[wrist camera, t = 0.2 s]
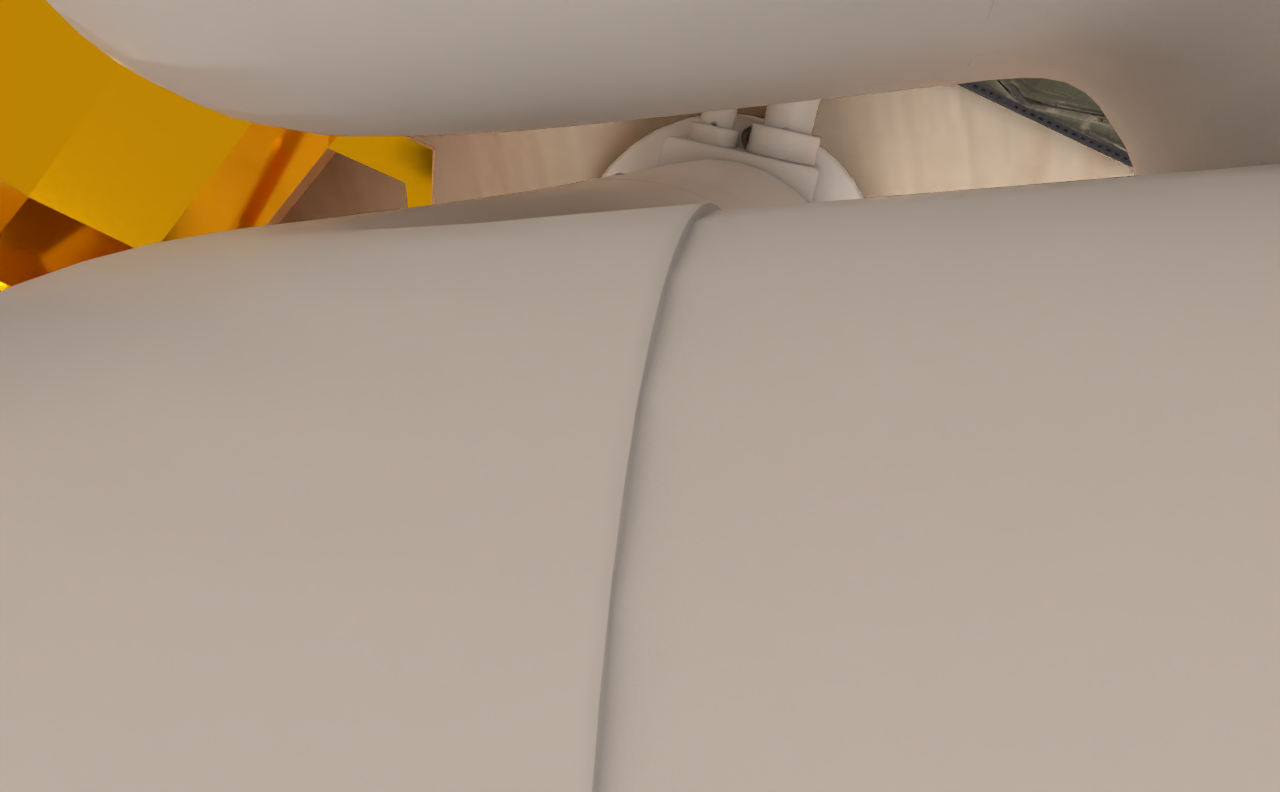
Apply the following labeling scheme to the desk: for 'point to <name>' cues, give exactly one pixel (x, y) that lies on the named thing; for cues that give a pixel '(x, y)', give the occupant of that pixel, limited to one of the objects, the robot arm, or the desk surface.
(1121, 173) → the desk surface
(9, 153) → the trophy cup
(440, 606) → the robot arm
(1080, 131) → the toy tank
